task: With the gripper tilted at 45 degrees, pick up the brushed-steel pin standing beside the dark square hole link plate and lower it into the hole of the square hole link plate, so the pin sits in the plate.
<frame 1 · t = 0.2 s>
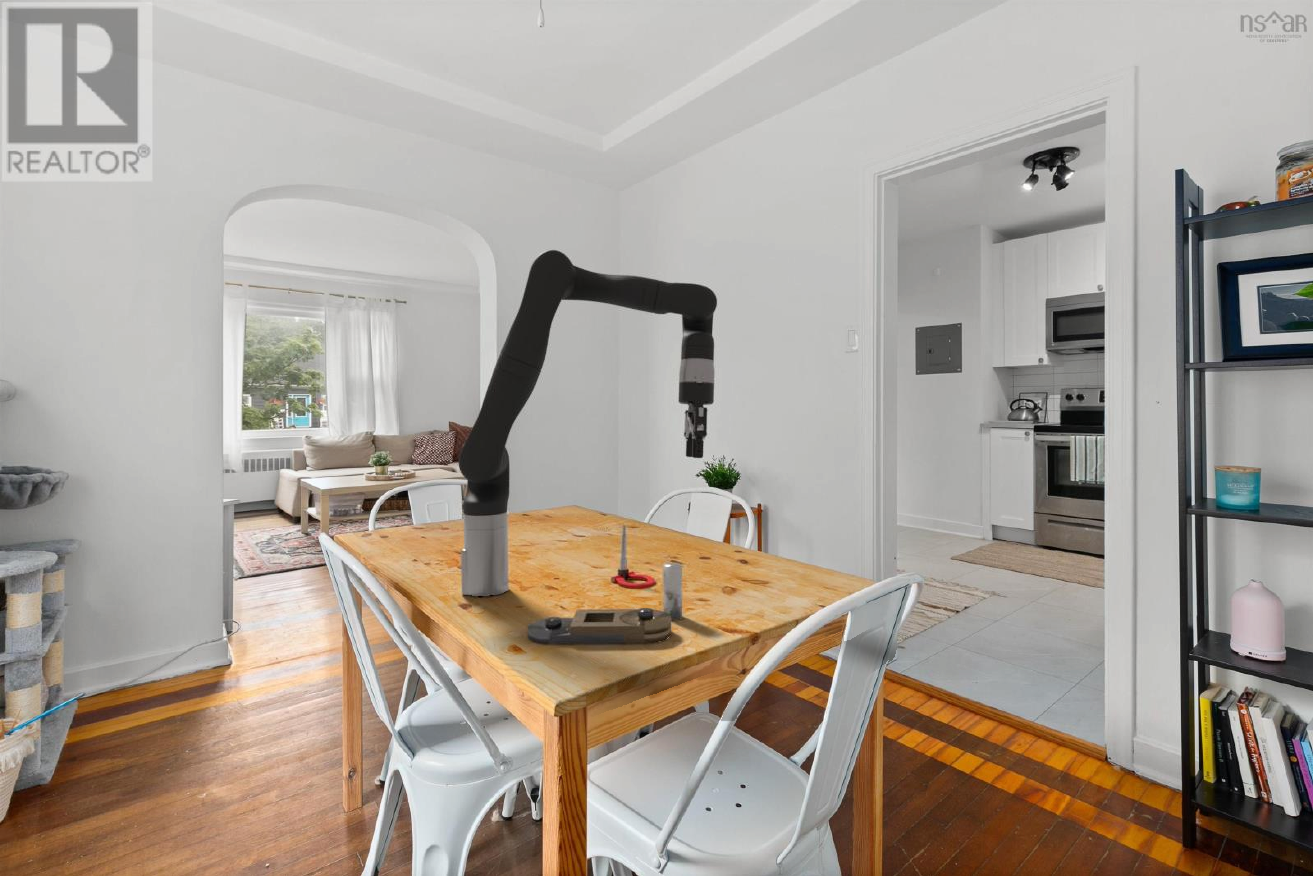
hand: (694, 457, 134), 29 cm above the table, tool pointing down, fingers open, 8 cm apart
steel pin: (672, 617, 119), on the table
tow hook: (635, 584, 143), on the table
square hole link plate: (599, 634, 110), on the table
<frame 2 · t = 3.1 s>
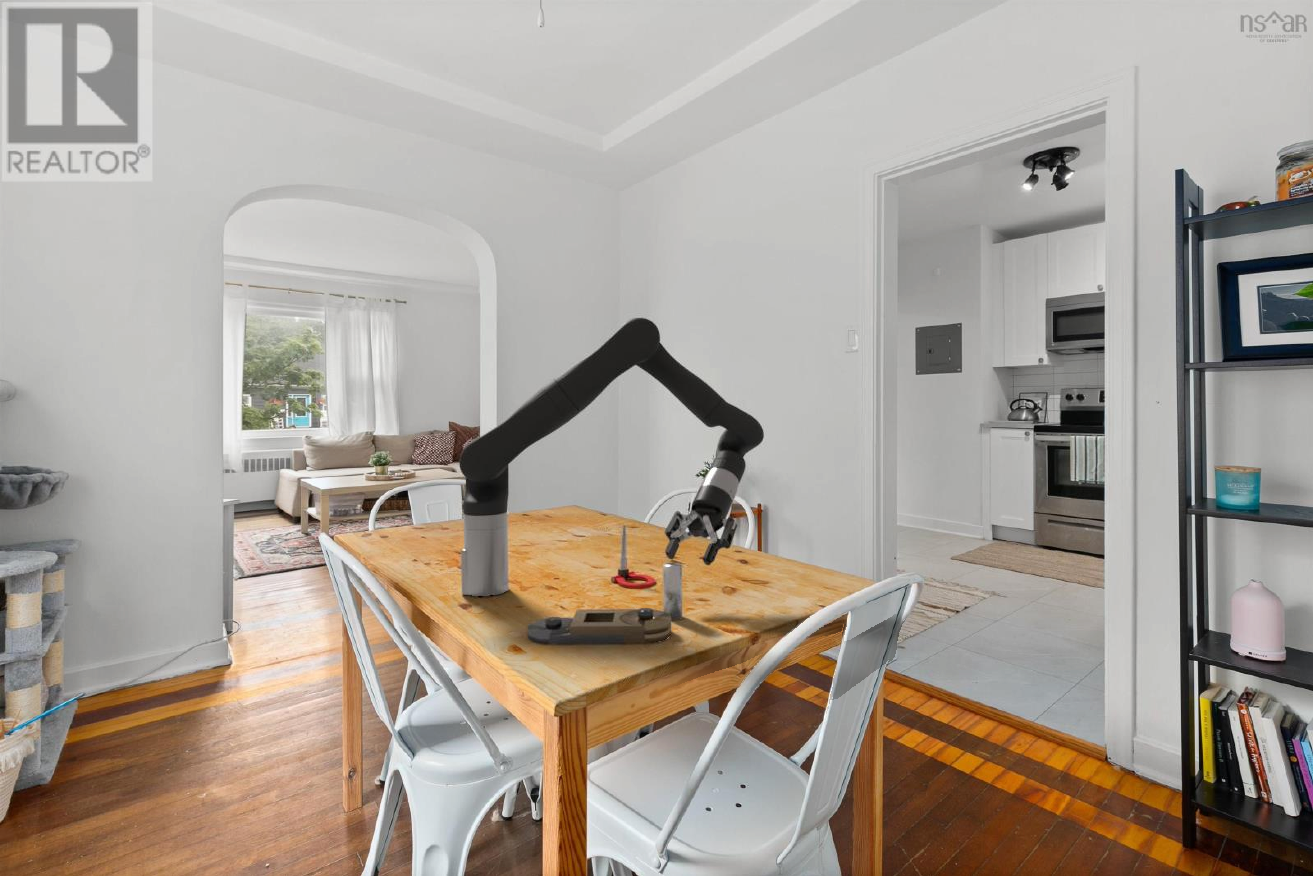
hand: (687, 560, 122), 10 cm above the table, tool tilted 45°, fingers open, 8 cm apart
nothing on the table moved.
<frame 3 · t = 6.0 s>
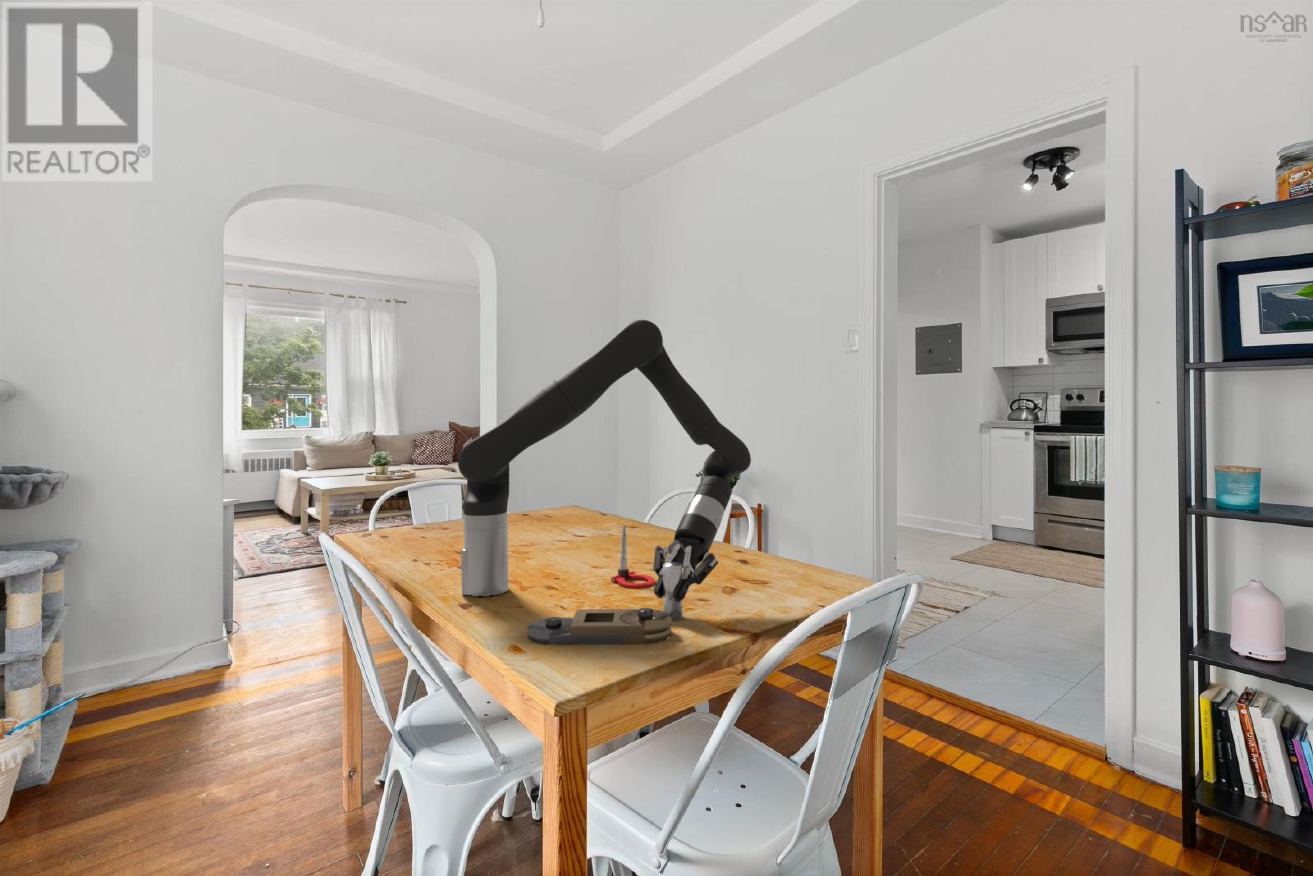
hand: (667, 597, 117), 4 cm above the table, tool tilted 45°, fingers closed on steel pin, 3 cm apart
steel pin: (672, 617, 118), on the table, touching gripper
everything else where it was.
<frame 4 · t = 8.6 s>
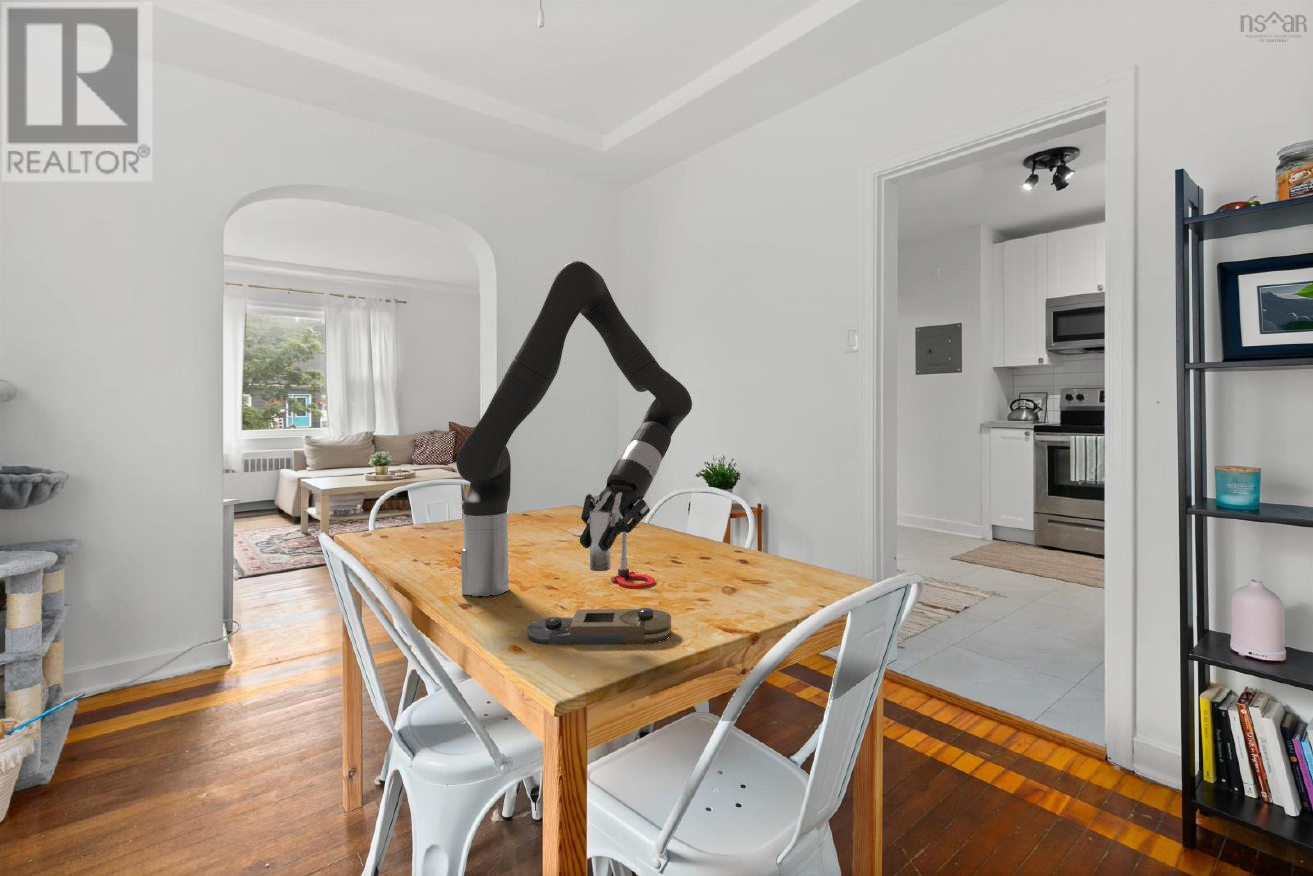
hand: (593, 546, 108), 16 cm above the table, tool tilted 45°, fingers closed on steel pin, 3 cm apart
steel pin: (600, 568, 109), point 11 cm above the table, touching gripper
everything else where it was.
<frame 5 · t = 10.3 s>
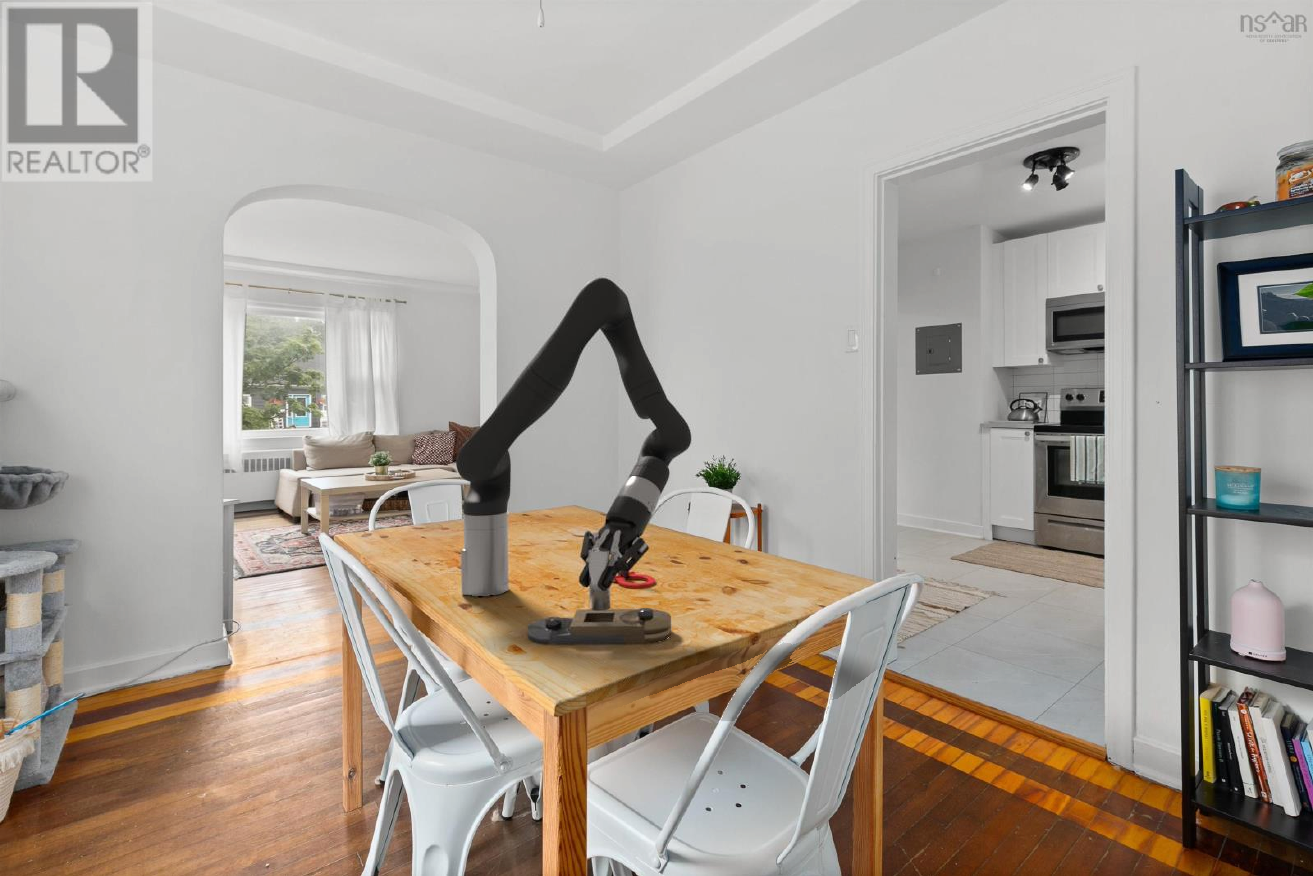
hand: (592, 586, 108), 9 cm above the table, tool tilted 45°, fingers closed on steel pin, 3 cm apart
steel pin: (600, 607, 109), point 5 cm above the table, touching gripper
everything else where it was.
when the fingers open (6 cm above the table, at t = 11.7 s): steel pin drops 2 cm, resting in square hole link plate.
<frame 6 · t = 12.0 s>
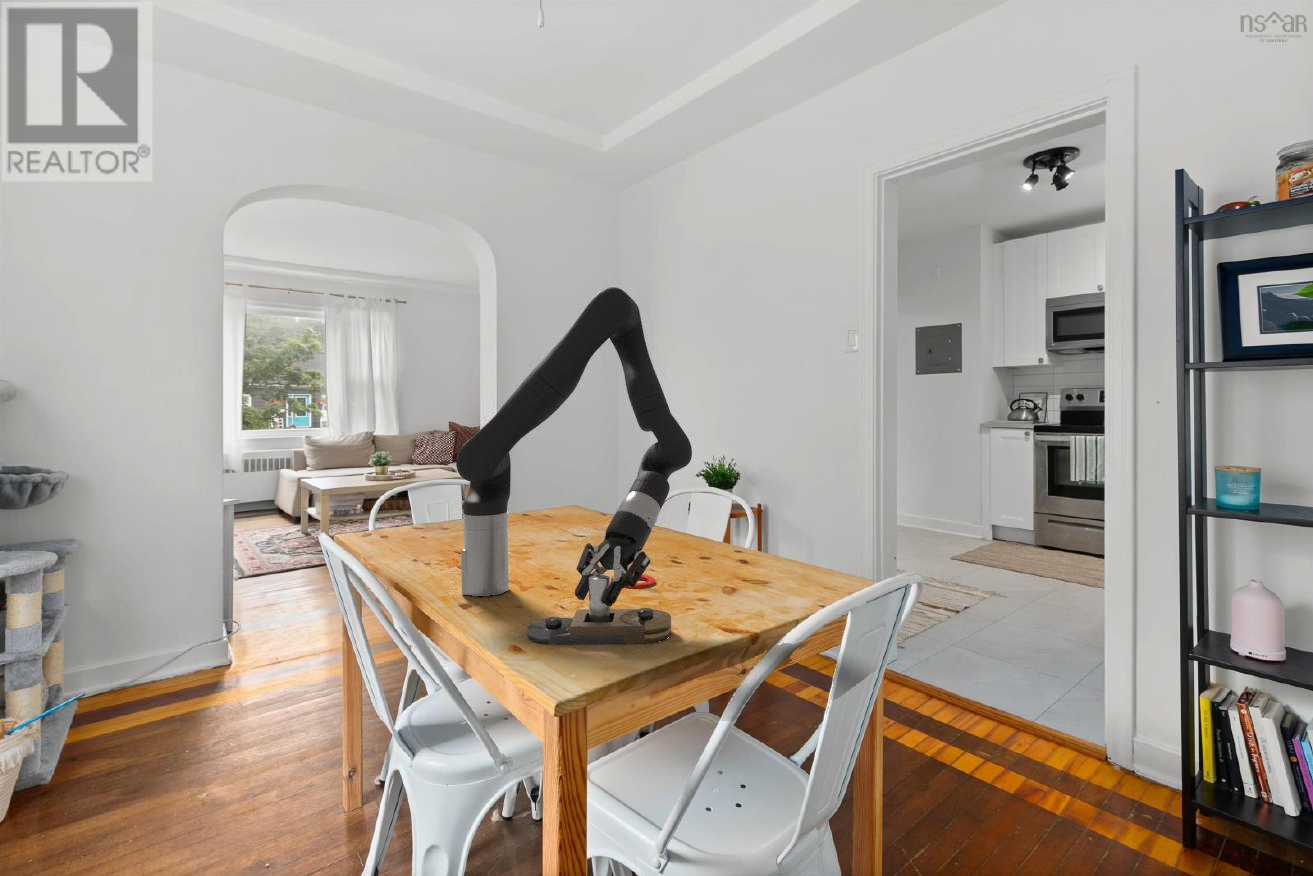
hand: (592, 600, 108), 6 cm above the table, tool tilted 45°, fingers open, 5 cm apart
steel pin: (599, 634, 110), resting in square hole link plate
everything else where it was.
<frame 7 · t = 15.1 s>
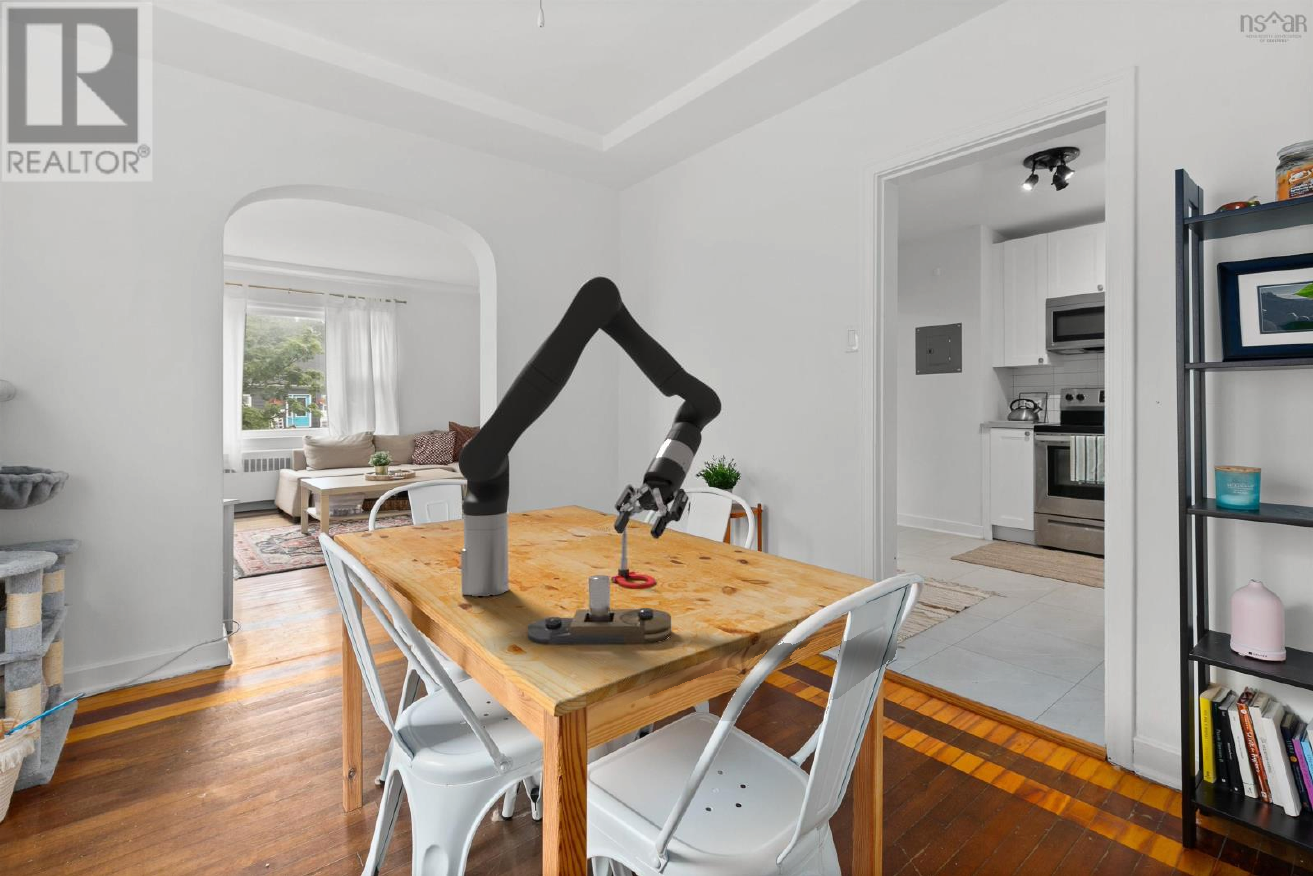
hand: (635, 533, 117), 16 cm above the table, tool tilted 45°, fingers open, 8 cm apart
nothing on the table moved.
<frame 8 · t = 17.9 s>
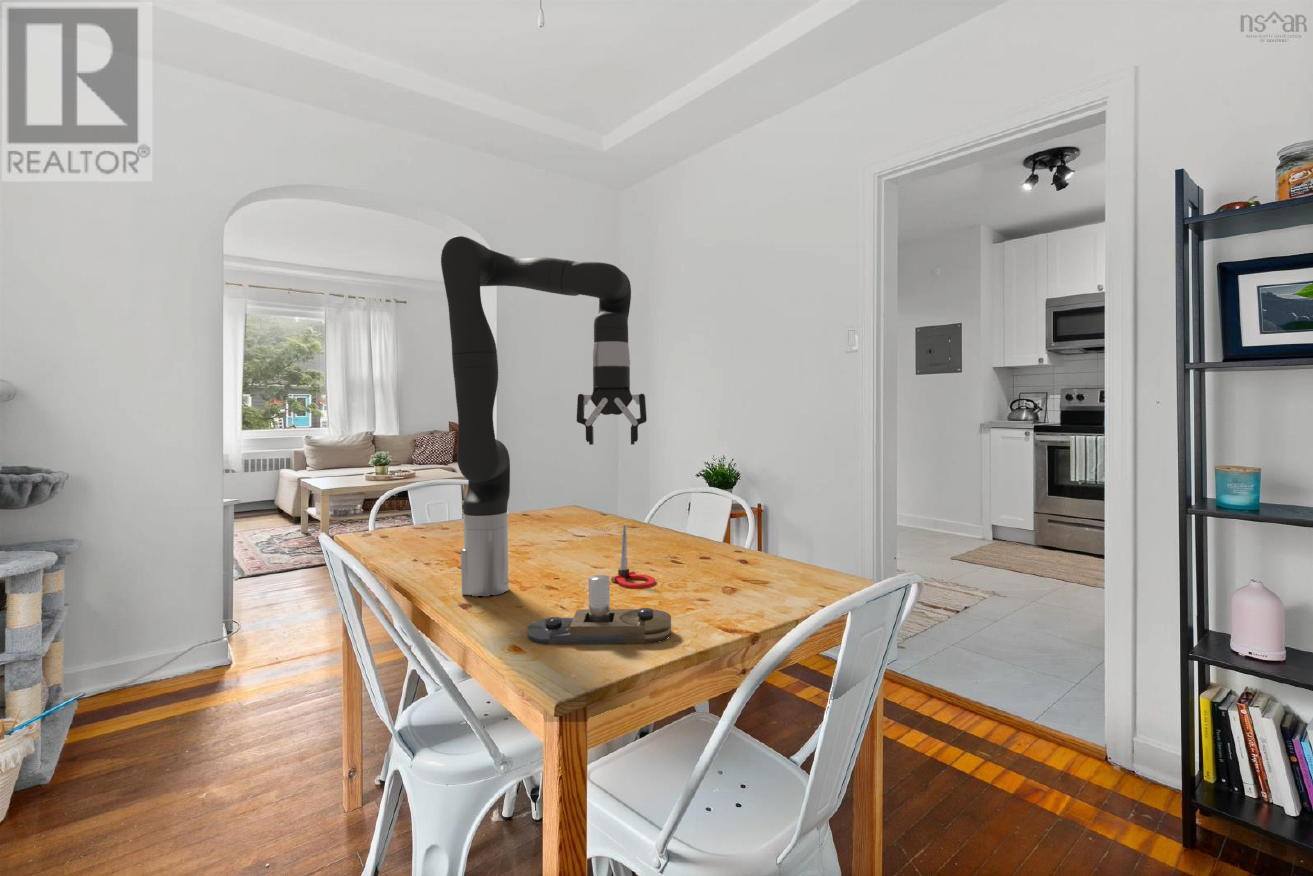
hand: (612, 444, 129), 32 cm above the table, tool pointing down, fingers open, 8 cm apart
nothing on the table moved.
at the end: steel pin 0.1 cm off-centre on the square hole link plate, point 0.0 cm above the square hole link plate's base; steel pin tilted 0°; the gripper is holding nothing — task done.
